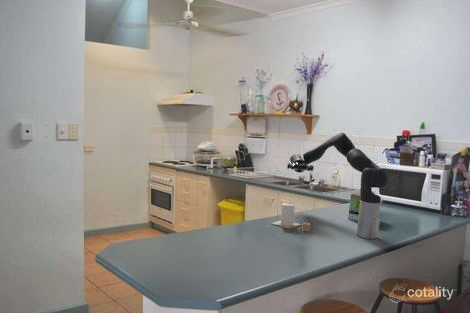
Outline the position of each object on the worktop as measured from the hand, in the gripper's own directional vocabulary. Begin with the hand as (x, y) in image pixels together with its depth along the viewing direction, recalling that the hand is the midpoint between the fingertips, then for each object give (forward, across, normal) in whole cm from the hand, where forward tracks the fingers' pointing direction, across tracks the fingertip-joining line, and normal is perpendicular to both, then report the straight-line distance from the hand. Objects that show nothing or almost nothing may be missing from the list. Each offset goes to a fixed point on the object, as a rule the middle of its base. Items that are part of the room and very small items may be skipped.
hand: (300, 168), depth 217 cm
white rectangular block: (+14, -6, +27) cm, 31 cm away
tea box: (-16, +38, +28) cm, 50 cm away
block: (+21, +4, +28) cm, 35 cm away
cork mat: (+14, -6, +28) cm, 32 cm away
